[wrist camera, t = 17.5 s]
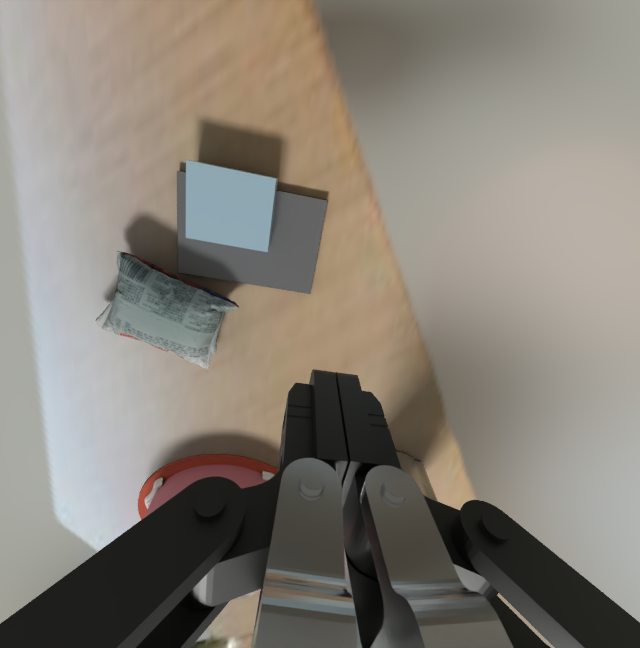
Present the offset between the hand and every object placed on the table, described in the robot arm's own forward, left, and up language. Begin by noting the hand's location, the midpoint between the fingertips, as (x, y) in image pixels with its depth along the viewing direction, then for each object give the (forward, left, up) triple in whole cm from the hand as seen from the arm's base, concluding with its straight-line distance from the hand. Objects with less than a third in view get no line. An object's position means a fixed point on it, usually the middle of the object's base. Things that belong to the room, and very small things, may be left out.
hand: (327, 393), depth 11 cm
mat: (+6, 0, -22) cm, 23 cm away
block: (+7, 0, -20) cm, 22 cm away
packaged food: (+13, +9, -22) cm, 27 cm away
